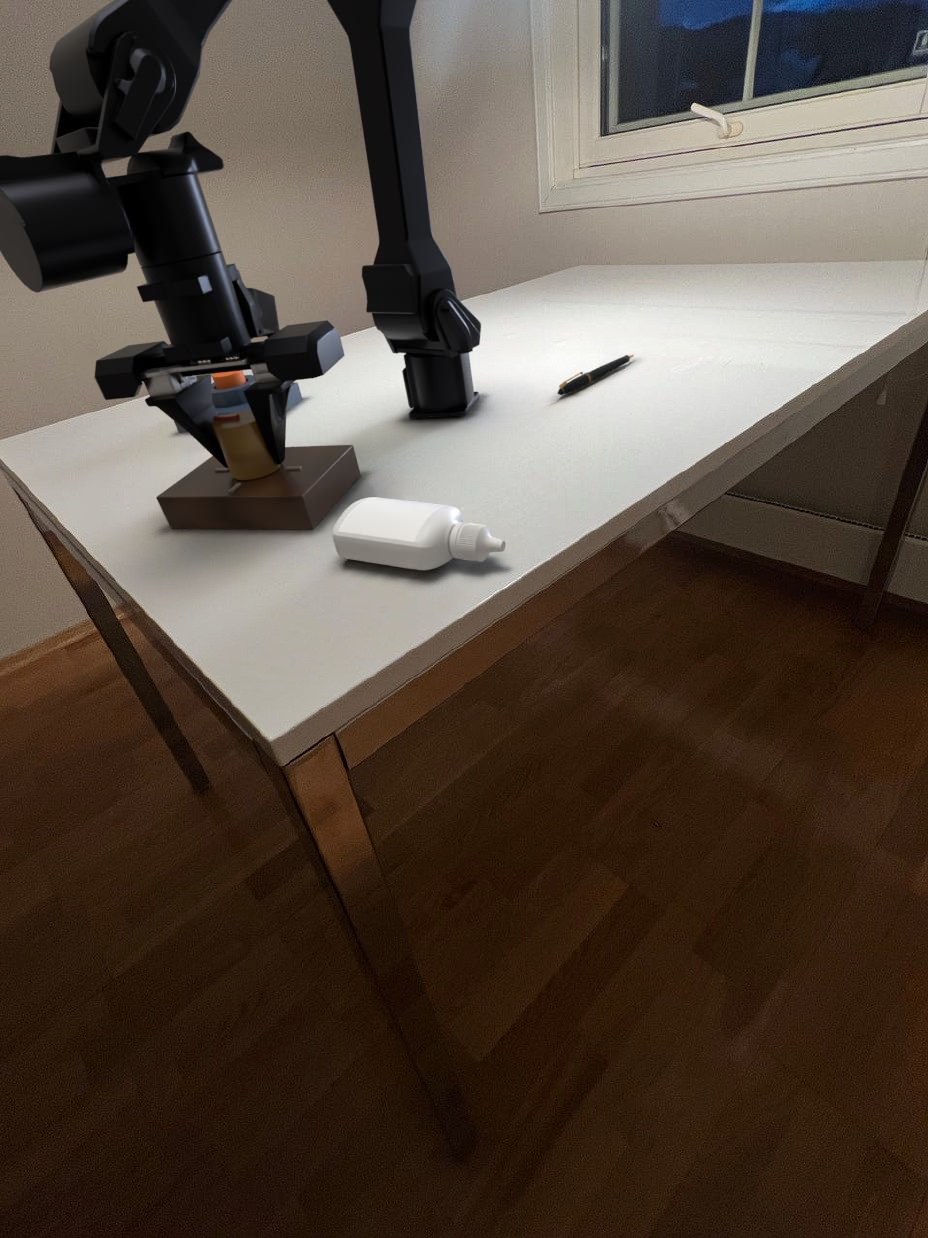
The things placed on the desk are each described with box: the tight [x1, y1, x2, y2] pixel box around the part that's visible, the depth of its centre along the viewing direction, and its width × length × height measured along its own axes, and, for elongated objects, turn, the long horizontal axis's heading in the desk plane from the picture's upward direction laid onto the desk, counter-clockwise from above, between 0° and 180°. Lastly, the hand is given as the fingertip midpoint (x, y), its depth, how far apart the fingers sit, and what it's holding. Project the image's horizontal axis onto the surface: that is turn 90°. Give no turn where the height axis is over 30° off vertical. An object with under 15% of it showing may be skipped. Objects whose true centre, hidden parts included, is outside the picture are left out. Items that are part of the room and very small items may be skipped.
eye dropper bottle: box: [331, 496, 506, 571], centre depth 43 cm, size 4×6×12 cm
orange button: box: [211, 370, 246, 390], centre depth 76 cm, size 4×4×2 cm
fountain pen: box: [557, 353, 635, 396], centre depth 70 cm, size 14×1×2 cm, turn 134°
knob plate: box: [155, 444, 362, 530], centre depth 55 cm, size 14×10×3 cm
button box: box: [173, 374, 303, 434], centre depth 77 cm, size 12×10×4 cm
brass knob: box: [212, 409, 282, 480], centre depth 53 cm, size 4×4×5 cm
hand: (255, 464), depth 54 cm, fingers closed on brass knob, 4 cm apart
